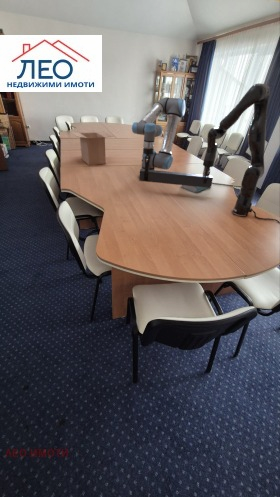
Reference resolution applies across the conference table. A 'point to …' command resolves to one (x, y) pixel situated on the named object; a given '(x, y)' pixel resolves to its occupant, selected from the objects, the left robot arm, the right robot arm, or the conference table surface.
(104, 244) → the conference table surface
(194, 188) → the book
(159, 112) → the left robot arm
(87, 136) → the box
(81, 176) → the conference table surface
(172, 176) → the bar
